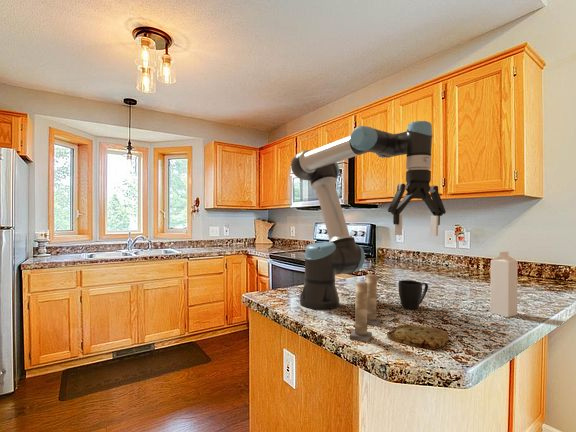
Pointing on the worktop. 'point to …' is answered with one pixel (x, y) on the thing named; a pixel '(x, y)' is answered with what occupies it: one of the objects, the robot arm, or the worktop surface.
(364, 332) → the post
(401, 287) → the mug
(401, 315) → the worktop surface
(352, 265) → the robot arm
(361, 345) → the worktop surface
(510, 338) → the worktop surface
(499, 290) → the milk
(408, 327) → the pastry
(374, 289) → the post
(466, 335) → the worktop surface
